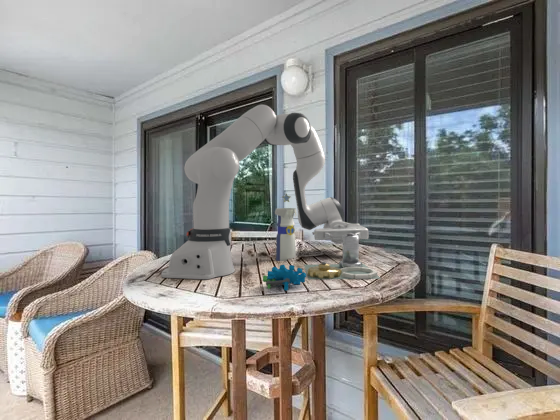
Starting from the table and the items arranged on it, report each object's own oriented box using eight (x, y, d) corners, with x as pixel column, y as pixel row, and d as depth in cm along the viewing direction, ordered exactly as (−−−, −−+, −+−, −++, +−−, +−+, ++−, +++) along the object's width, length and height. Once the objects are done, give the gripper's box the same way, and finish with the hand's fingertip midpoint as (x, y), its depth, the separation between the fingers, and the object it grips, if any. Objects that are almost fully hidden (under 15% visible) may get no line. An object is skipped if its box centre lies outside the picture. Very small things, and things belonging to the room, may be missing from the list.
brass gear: (308, 278, 91) (308, 265, 91) (306, 270, 101) (306, 259, 101) (343, 278, 91) (343, 265, 91) (337, 270, 101) (337, 258, 101)
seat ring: (343, 278, 91) (343, 275, 91) (337, 270, 101) (337, 267, 101) (380, 278, 91) (380, 274, 91) (370, 269, 101) (370, 266, 101)
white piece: (302, 260, 123) (301, 193, 122) (282, 262, 119) (281, 193, 118) (290, 256, 130) (289, 193, 129) (271, 259, 126) (270, 193, 125)
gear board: (308, 283, 91) (308, 279, 91) (303, 268, 110) (303, 264, 110) (381, 282, 91) (381, 278, 91) (364, 267, 110) (364, 263, 110)
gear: (309, 281, 87) (301, 260, 80) (310, 302, 83) (302, 281, 76) (269, 285, 89) (258, 265, 82) (267, 305, 85) (256, 286, 78)
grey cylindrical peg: (341, 269, 102) (341, 235, 102) (337, 264, 109) (337, 232, 109) (364, 269, 102) (364, 235, 102) (359, 264, 109) (359, 232, 109)
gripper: (311, 224, 131) (314, 228, 118) (363, 223, 131) (372, 227, 117) (311, 240, 132) (315, 246, 118) (363, 239, 131) (372, 244, 118)
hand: (344, 236), depth 118 cm, fingers open, 8 cm apart
